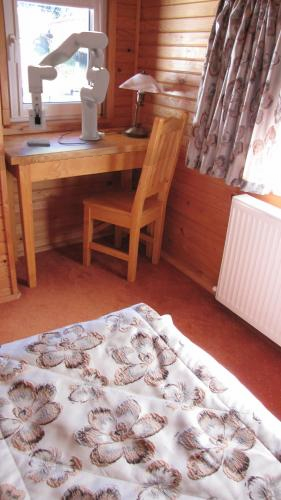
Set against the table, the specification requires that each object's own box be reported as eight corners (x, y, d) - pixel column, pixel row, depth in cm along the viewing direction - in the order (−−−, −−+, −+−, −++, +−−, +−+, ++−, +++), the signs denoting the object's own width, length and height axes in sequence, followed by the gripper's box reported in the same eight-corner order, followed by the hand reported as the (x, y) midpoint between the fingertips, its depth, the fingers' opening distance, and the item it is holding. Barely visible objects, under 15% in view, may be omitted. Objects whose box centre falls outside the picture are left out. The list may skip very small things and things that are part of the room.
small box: (46, 128, 230) (45, 109, 225) (43, 130, 225) (42, 110, 220) (32, 127, 230) (31, 108, 226) (29, 129, 225) (28, 109, 221)
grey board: (48, 141, 238) (48, 139, 238) (50, 146, 228) (50, 143, 227) (28, 141, 235) (27, 139, 235) (28, 146, 225) (28, 143, 224)
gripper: (43, 91, 212) (45, 126, 220) (42, 88, 227) (43, 120, 235) (29, 91, 210) (31, 125, 218) (28, 88, 225) (30, 120, 233)
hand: (37, 123), depth 226 cm, fingers closed on small box, 7 cm apart
